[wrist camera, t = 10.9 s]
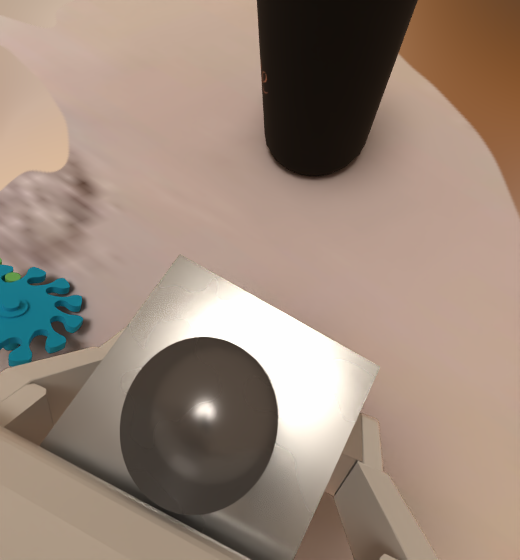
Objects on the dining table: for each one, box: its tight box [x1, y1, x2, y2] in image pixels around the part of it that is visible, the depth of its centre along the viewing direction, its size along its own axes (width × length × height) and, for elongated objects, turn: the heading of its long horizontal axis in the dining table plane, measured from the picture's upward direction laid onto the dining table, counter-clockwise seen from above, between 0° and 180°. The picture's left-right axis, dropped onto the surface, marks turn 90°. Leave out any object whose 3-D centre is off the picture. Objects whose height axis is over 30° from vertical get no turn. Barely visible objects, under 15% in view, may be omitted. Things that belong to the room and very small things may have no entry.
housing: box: [40, 255, 380, 560], centre depth 9 cm, size 6×6×10 cm
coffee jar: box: [257, 0, 417, 176], centre depth 23 cm, size 11×11×18 cm
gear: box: [0, 258, 83, 367], centre depth 24 cm, size 11×6×10 cm
